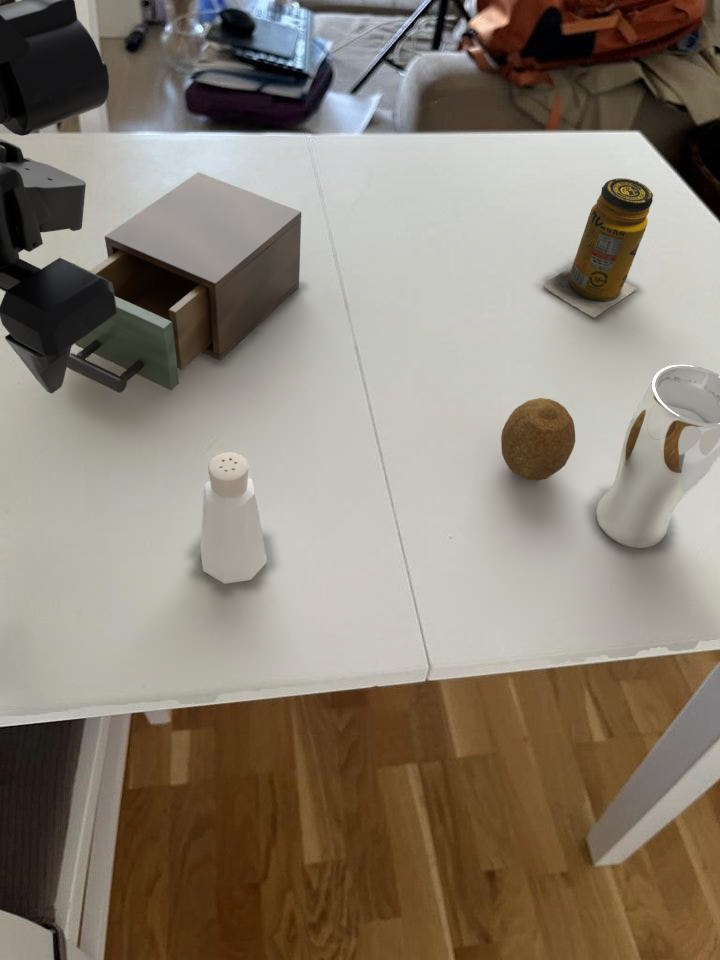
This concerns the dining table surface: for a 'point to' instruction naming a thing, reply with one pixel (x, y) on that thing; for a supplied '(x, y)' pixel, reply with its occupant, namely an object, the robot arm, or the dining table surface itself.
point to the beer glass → (663, 454)
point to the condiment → (606, 248)
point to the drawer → (146, 325)
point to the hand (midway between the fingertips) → (7, 363)
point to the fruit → (538, 439)
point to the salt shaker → (231, 522)
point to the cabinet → (220, 251)
